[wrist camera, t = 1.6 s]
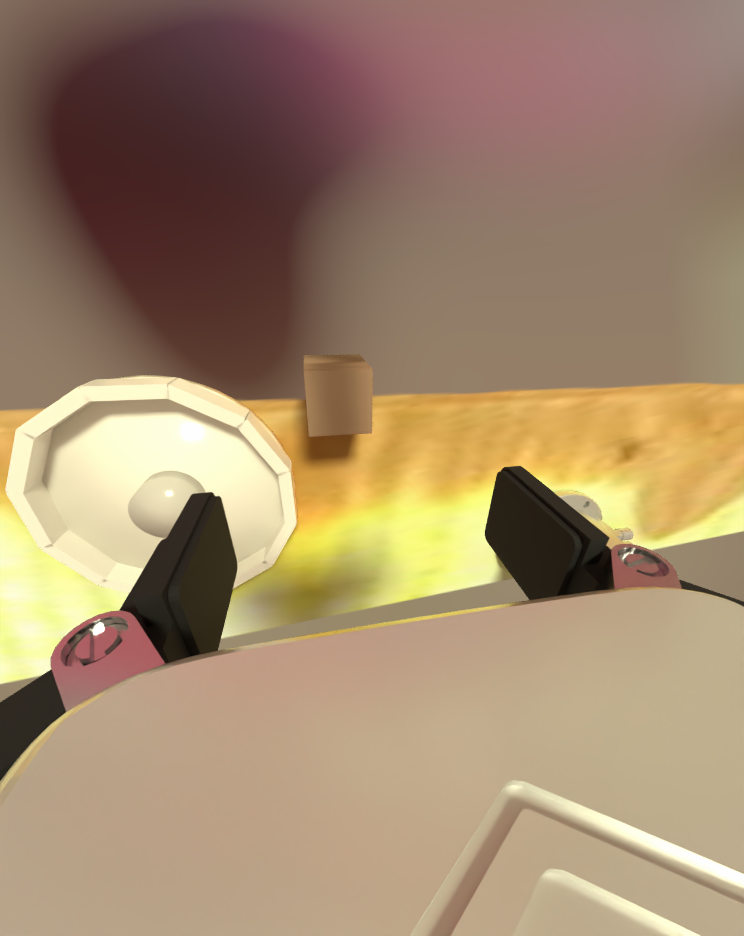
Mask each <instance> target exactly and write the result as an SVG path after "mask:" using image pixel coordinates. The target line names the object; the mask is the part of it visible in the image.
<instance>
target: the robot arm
mask: <svg viewBox="0 0 744 936" xmlns="http://www.w3.org/2000/svg"><path fill="white" fill-rule="evenodd" d="M485 537H486V540H487V542H488V543H489V545H490V546H491V547H492V549H493V550H494V552H495V553H496V554H497V556H498V557H499V558H500V560H501V561H502V563H503V564H504V565H505V567H506V568H507V569H508V571H509V572H510V574H511V575H512V576H513V578H514V579H515V580H516V582H517V583H518V585H519V586H520V587H521V589H522V590H523V591H524V593H525V594H526V596H527V597H528V598H529V600H528V601H522V602H515V603H509V604H502V605H495V606H488V607H482V608H476V609H469V610H462V611H456V612H449V613H443V614H436V615H430V616H424V617H417V618H411V619H404V620H398V621H391V622H386V623H379V624H372V625H366V626H360V627H354V628H348V629H342V630H335V631H329V632H323V633H317V634H310V635H304V636H299V637H292V638H286V639H280V640H275V641H269V642H263V643H258V644H252V645H246V646H241V647H235V648H229V649H224V650H219V651H218V647H219V643H220V639H221V635H222V631H223V627H224V623H225V619H226V615H227V611H228V607H229V603H230V599H231V595H232V591H233V586H234V582H235V578H236V574H237V558H236V554H235V550H234V546H233V542H232V538H231V534H230V530H229V526H228V522H227V519H226V515H225V511H224V507H223V503H222V499H221V497H220V496H215V495H214V493H213V492H206V493H194V494H192V495H191V496H190V498H189V499H188V501H187V503H186V505H185V506H184V508H183V510H182V512H181V513H180V515H179V517H178V519H177V520H176V522H175V524H174V526H173V528H172V529H171V531H170V533H169V535H168V536H167V538H166V539H163V540H161V541H160V543H159V544H158V545H157V547H156V549H155V551H154V552H153V554H152V556H151V557H150V559H149V561H148V563H147V564H146V566H145V568H144V569H143V571H142V573H141V574H140V576H139V578H138V580H137V581H136V583H135V585H134V586H133V588H132V590H131V592H130V593H129V595H128V597H127V598H126V600H125V602H124V604H123V605H122V607H121V609H120V610H119V611H110V612H107V613H103V614H99V615H97V616H95V617H93V618H90V619H88V620H86V621H85V622H83V623H81V624H80V625H78V626H77V627H75V628H74V629H73V630H71V631H70V632H69V633H68V634H67V635H66V636H65V637H63V639H62V640H61V641H60V642H59V644H58V645H57V646H56V647H55V649H54V651H53V654H52V656H51V670H50V671H48V672H47V673H45V674H44V675H42V676H40V677H39V678H38V679H36V680H34V681H33V682H31V683H30V684H28V685H27V686H25V687H24V688H22V689H20V690H19V691H17V692H16V693H14V694H13V695H11V696H10V697H8V698H6V699H5V700H3V701H2V702H0V936H744V602H743V601H740V600H737V599H734V598H731V597H728V596H725V595H723V594H720V593H716V592H714V591H711V590H708V589H705V588H702V587H699V586H696V585H693V584H691V583H687V582H685V581H682V580H679V578H678V575H677V572H676V570H675V568H674V567H673V565H672V564H671V563H670V562H668V560H667V559H665V558H664V557H662V556H661V555H659V554H657V553H655V552H653V551H651V550H649V549H647V548H644V547H641V546H637V545H633V544H632V543H631V542H629V541H622V540H630V539H632V538H633V532H632V531H631V530H630V529H629V528H621V529H615V530H613V529H612V528H611V527H610V526H608V525H607V524H606V523H604V522H603V521H602V514H601V510H600V508H599V506H598V504H597V503H596V502H594V501H593V500H592V499H591V498H589V497H588V496H586V495H585V494H583V493H580V492H577V491H558V492H553V491H551V490H550V489H549V488H548V487H546V486H545V485H544V484H543V483H541V482H540V481H539V480H538V479H536V478H535V477H534V476H533V475H531V474H530V473H529V472H528V471H527V470H525V469H524V468H523V467H521V466H514V467H504V468H503V469H502V470H501V472H498V474H497V477H496V481H495V486H494V491H493V496H492V500H491V505H490V510H489V515H488V519H487V524H486V529H485Z"/></svg>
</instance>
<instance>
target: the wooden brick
mask: <svg viewBox="0 0 744 936" xmlns="http://www.w3.org/2000/svg"><path fill="white" fill-rule="evenodd" d="M304 383H305V394H306V407H307V419H308V431H309V437H313V436H331V435H349V434H367V433H372V394H373V393H372V390H373V369H372V368H371V367H370V366H369V365H368V364H367V363H366V361H365V360H364V359H363V358H362V357H361V356H360V355H359V354H358V355H304Z"/></svg>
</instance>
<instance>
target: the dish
mask: <svg viewBox="0 0 744 936" xmlns="http://www.w3.org/2000/svg"><path fill="white" fill-rule="evenodd" d="M5 491H7V492H6V494H7V496H8V497H9V499H10V501H11V502H12V504H13V506H14V507H15V509H16V511H17V512H18V514H19V516H20V517H21V519H22V521H23V522H24V524H25V526H26V527H27V529H28V531H29V532H30V534H31V536H32V537H33V539H34V540H35V542H36V544H37V545H38V547H39V548H42V549H41V550H42V551H44V552H45V553H47V554H48V555H50V556H52V557H53V558H55V559H56V560H58V561H60V562H61V563H63V564H64V565H66V566H68V567H69V568H71V569H72V570H74V571H76V572H77V573H79V574H80V575H82V576H84V577H85V578H87V579H88V580H90V581H92V582H93V583H95V584H96V585H98V586H99V585H101V587H105V588H109V589H114V590H119V591H124V592H128V593H130V592H131V590H132V588H133V586H134V585H135V583H136V581H137V580H138V578H139V576H140V574H141V573H142V571H143V569H144V568H145V566H146V564H147V563H148V561H149V559H150V557H151V556H152V554H153V552H154V551H155V549H156V547H157V545H158V544H159V543H160V541H161V540H163V539H166V538H167V536H168V535H169V533H170V531H171V529H172V528H173V526H174V524H175V522H176V520H177V519H178V517H179V515H180V513H181V512H182V510H183V508H184V506H185V505H186V503H187V501H188V499H189V498H190V496H191V495H192V494H194V493H206V492H213V493H214V495H215V496H220V497H221V499H222V503H223V507H224V511H225V515H226V519H227V522H228V526H229V530H230V534H231V538H232V542H233V546H234V550H235V554H236V558H237V574H236V578H235V582H234V586H233V589H234V588H235V587H237V586H239V585H241V584H242V583H244V582H246V581H248V580H249V579H251V578H253V577H255V576H256V575H258V574H260V573H262V572H263V571H265V570H267V569H269V568H270V567H272V566H273V565H274V563H275V561H276V559H277V558H278V556H279V554H280V552H281V551H282V549H283V547H284V545H285V544H286V542H287V540H288V538H289V537H290V535H291V533H292V531H293V530H294V528H295V526H296V523H297V505H296V496H295V480H294V475H293V470H292V462H291V459H290V458H289V457H288V456H287V454H286V452H285V450H284V448H283V446H282V444H281V443H280V441H279V440H278V438H277V437H276V436H275V434H274V433H273V431H272V430H271V429H270V428H269V427H268V426H267V425H266V424H265V423H264V422H263V421H262V420H261V419H260V418H259V417H258V416H257V415H256V414H254V413H253V412H252V411H251V410H250V409H248V408H247V407H245V406H244V405H242V404H241V403H239V402H238V401H236V400H235V399H233V398H231V397H229V396H227V395H225V394H223V393H221V392H220V391H218V390H215V389H212V388H210V387H207V386H205V385H202V384H199V383H195V382H192V381H188V380H184V379H180V378H177V377H174V378H173V377H166V376H149V375H141V376H131V377H122V378H118V379H97V380H94V381H91V382H89V383H86V384H84V385H82V386H79V387H77V388H76V389H74V390H73V391H71V392H70V393H68V394H67V395H65V396H64V397H62V398H61V399H60V400H58V401H57V402H55V403H54V404H52V405H51V406H49V407H48V408H46V409H45V410H43V411H42V412H40V413H39V414H38V415H36V416H35V417H33V418H32V419H30V420H29V421H27V422H26V423H24V424H23V425H21V426H20V427H19V428H17V430H16V433H15V438H14V444H13V450H12V455H11V461H10V467H9V472H8V478H7V484H6V489H5Z"/></svg>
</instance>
